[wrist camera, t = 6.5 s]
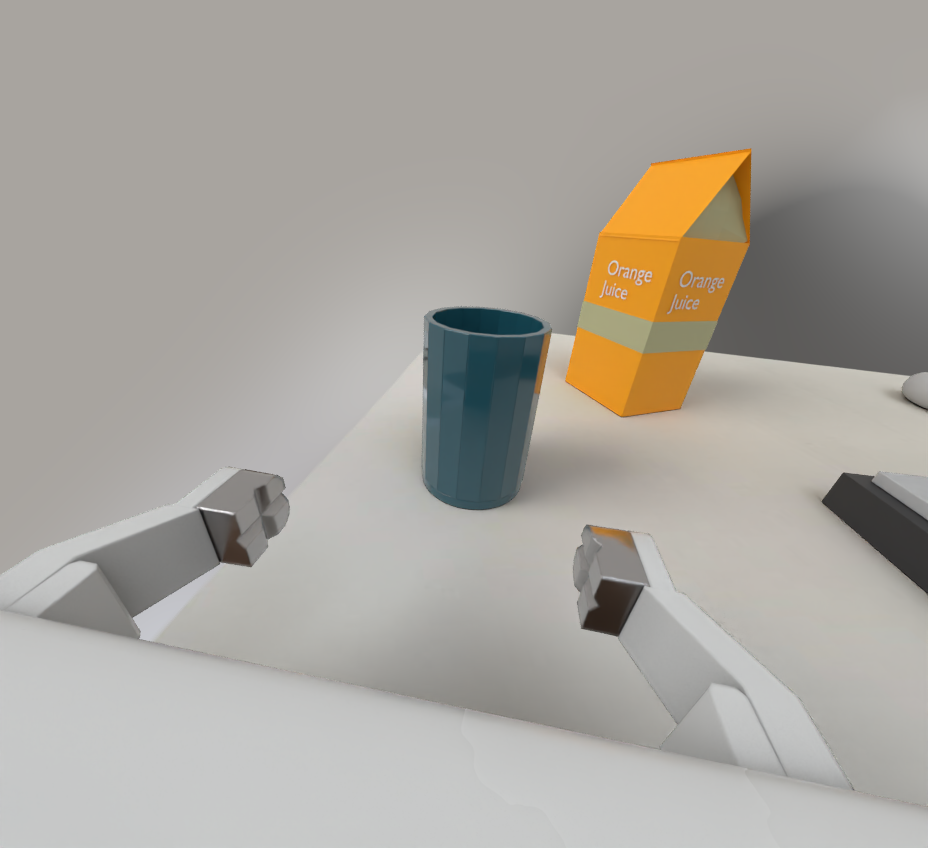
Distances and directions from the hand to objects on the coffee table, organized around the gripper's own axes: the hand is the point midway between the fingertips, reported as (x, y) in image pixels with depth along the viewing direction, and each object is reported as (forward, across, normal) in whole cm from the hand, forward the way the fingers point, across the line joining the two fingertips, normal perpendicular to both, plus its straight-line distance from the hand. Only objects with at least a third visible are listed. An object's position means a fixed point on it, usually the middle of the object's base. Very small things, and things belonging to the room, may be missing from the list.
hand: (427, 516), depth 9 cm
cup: (+12, 0, -7) cm, 14 cm away
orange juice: (+29, +14, -7) cm, 33 cm away
